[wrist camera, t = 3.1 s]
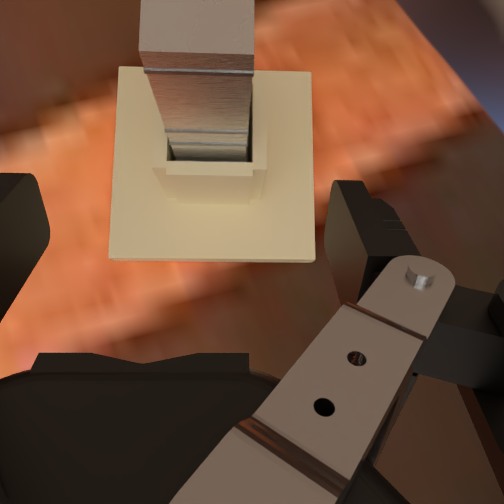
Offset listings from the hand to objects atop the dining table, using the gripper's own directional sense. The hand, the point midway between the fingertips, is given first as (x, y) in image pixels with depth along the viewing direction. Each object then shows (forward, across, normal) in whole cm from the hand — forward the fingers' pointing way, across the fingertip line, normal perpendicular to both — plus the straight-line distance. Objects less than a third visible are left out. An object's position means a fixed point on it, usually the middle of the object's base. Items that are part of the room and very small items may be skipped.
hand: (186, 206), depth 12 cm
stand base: (+19, 0, +8) cm, 21 cm away
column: (+18, 0, +6) cm, 19 cm away
